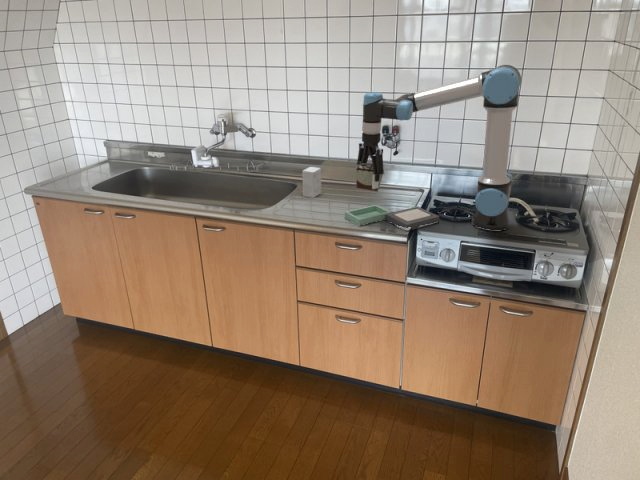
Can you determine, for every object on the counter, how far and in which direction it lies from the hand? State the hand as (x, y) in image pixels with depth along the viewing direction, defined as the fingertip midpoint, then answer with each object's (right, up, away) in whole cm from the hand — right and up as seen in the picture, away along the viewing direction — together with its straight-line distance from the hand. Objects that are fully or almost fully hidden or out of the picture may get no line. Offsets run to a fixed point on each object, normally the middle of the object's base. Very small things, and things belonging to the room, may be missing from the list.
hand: (369, 185), depth 210 cm
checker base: (+19, -15, +3) cm, 24 cm away
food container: (0, 0, +3) cm, 3 cm away
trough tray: (0, -14, +6) cm, 15 cm away
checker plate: (+19, -13, +2) cm, 23 cm away
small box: (-25, -1, +35) cm, 43 cm away
